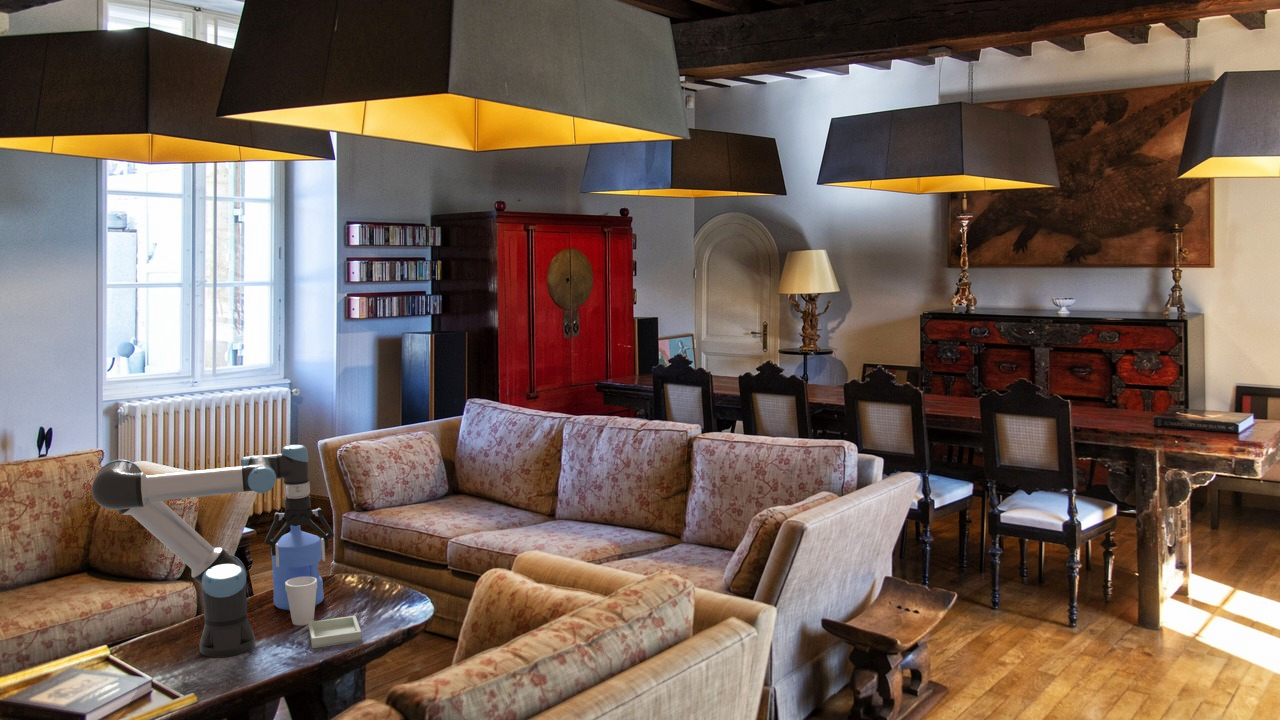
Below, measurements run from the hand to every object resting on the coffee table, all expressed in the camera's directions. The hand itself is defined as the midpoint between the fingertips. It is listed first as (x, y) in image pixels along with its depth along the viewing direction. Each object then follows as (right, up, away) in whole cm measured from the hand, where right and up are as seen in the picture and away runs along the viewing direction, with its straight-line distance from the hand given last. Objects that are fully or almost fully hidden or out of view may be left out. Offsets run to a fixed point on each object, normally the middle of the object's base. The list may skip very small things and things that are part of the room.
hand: (300, 562), depth 329 cm
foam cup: (0, -19, +2) cm, 19 cm away
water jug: (-7, -17, +19) cm, 26 cm away
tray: (+13, -20, -9) cm, 26 cm away
